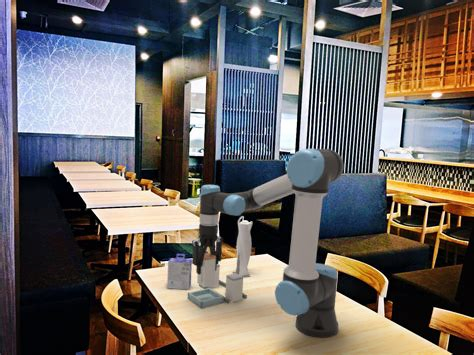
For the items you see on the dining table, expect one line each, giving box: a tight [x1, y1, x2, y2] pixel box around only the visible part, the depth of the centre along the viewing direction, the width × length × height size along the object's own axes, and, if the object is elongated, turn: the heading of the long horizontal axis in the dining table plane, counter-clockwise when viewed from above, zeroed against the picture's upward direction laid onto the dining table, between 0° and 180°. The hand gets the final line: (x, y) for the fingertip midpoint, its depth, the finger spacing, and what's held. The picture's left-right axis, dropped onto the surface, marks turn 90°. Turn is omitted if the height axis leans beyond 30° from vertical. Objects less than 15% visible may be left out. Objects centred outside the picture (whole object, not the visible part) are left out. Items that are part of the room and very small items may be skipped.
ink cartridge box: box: [166, 253, 193, 290], centre depth 178 cm, size 10×6×14 cm, turn 89°
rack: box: [198, 263, 248, 305], centre depth 175 cm, size 22×10×10 cm, turn 37°
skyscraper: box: [231, 215, 253, 278], centre depth 197 cm, size 8×8×28 cm
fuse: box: [196, 252, 216, 287], centre depth 164 cm, size 5×5×12 cm
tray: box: [187, 288, 225, 309], centre depth 165 cm, size 11×11×2 cm
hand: (206, 279), depth 165 cm, fingers closed on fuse, 5 cm apart
